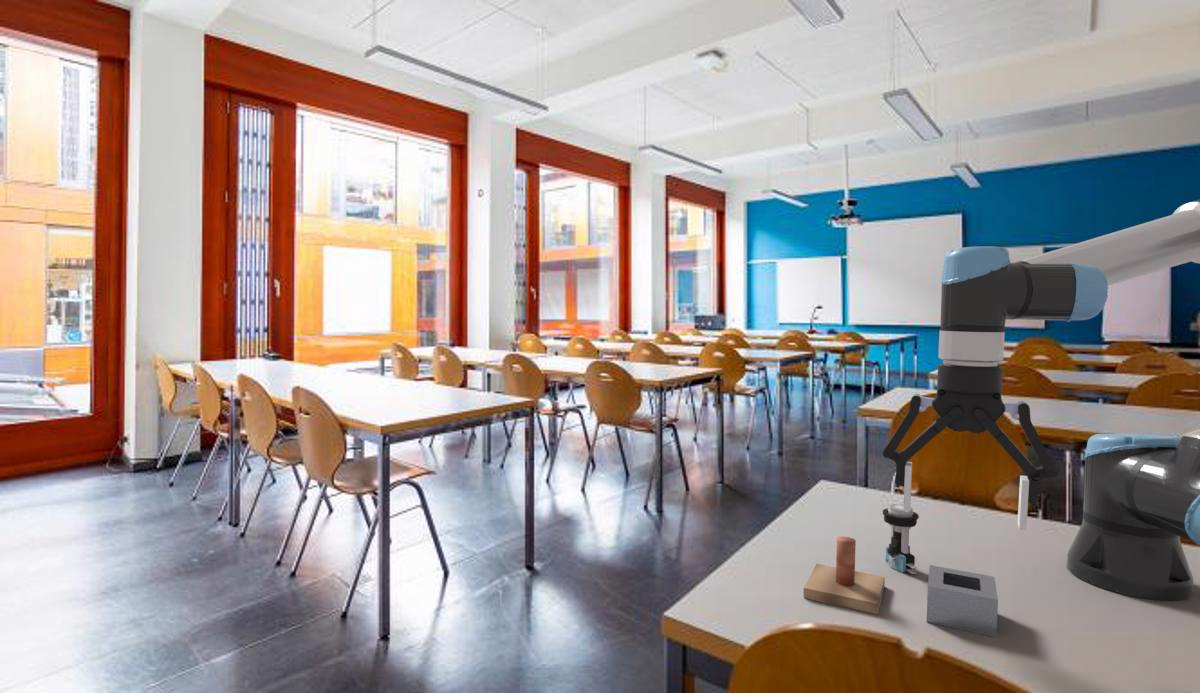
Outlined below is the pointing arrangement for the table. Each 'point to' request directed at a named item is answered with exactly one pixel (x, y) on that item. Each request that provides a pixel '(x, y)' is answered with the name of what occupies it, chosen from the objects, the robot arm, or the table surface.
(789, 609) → the table surface
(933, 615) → the grey slotted box
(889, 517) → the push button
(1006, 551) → the table surface
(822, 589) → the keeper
